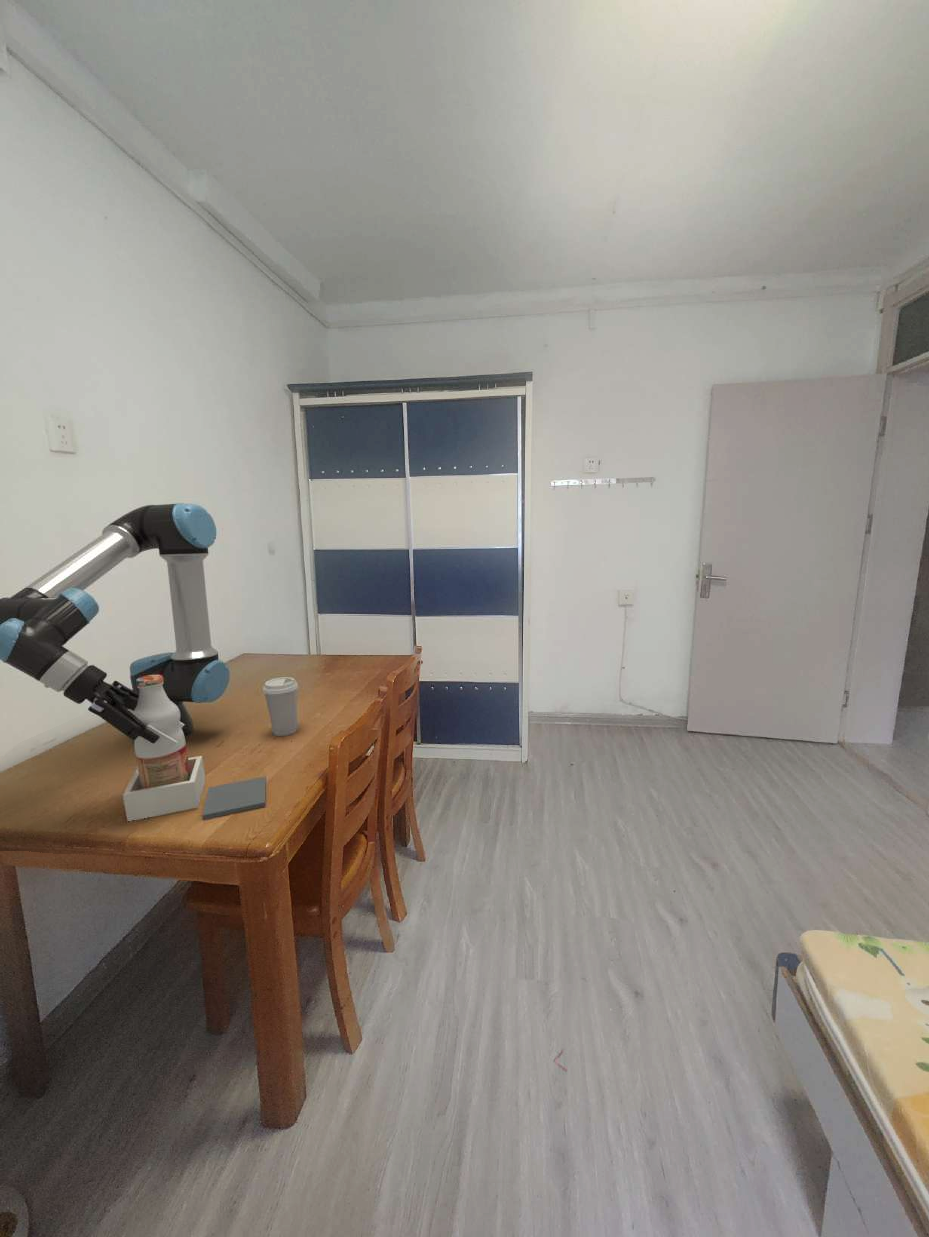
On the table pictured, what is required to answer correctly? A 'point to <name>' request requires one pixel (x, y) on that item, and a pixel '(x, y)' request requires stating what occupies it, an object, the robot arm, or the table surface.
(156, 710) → the fruit juice
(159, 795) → the frame
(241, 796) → the mat
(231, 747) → the table surface
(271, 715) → the coffee cup
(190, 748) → the table surface
